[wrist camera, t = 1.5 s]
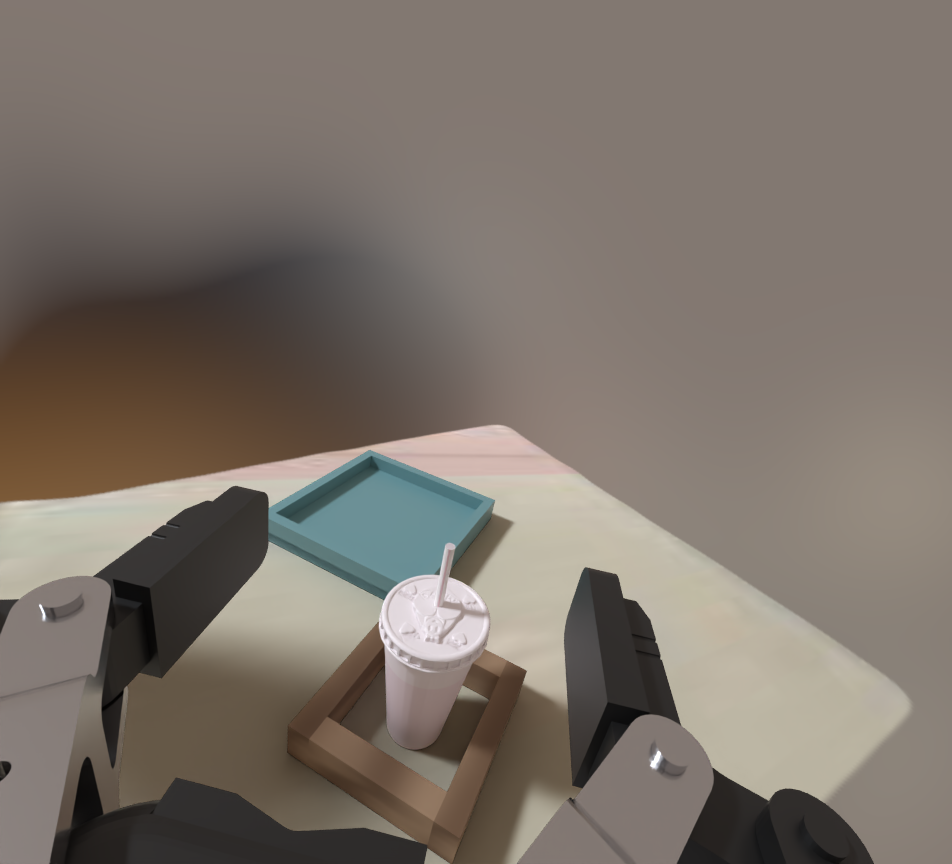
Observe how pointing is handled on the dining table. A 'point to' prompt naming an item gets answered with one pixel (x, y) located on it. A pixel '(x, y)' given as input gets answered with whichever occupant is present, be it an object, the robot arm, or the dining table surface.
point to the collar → (383, 777)
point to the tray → (378, 522)
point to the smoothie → (429, 651)
